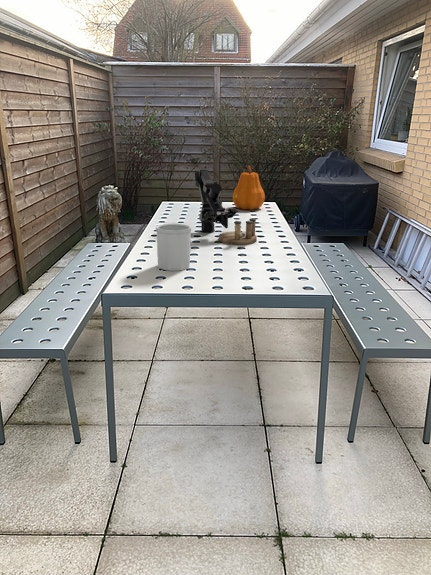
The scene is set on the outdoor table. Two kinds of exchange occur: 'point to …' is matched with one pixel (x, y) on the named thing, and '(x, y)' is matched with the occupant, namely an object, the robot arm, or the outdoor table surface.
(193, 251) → the outdoor table surface
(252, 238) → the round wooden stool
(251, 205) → the decorative pumpkin
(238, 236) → the hinged leg
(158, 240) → the utensil holder
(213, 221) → the robot arm
